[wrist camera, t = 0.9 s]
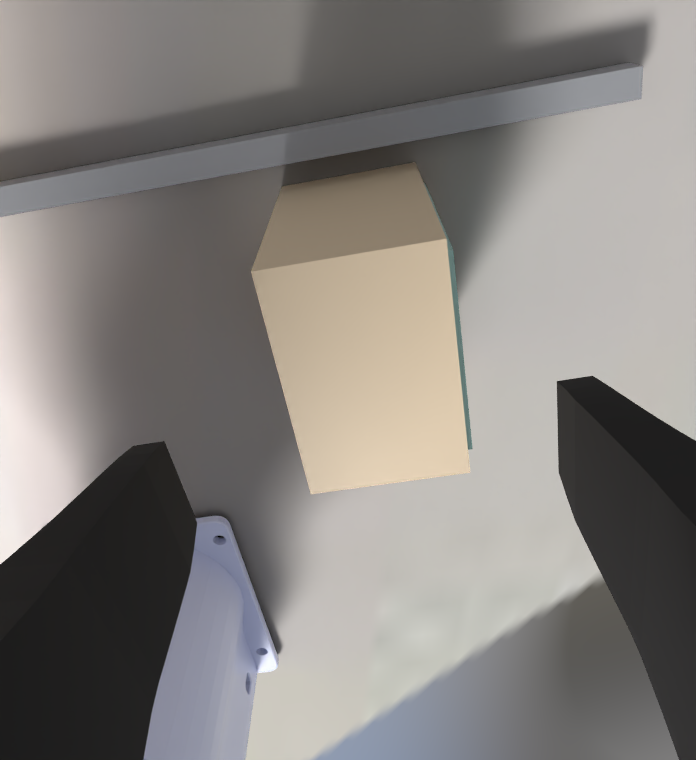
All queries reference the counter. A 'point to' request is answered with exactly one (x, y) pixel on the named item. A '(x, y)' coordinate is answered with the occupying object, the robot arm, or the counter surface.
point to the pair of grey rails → (325, 138)
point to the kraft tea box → (366, 329)
